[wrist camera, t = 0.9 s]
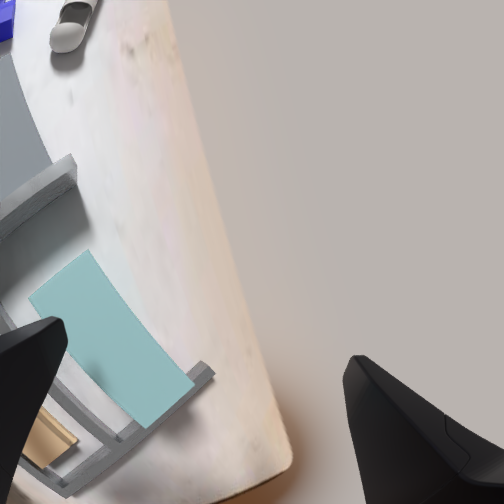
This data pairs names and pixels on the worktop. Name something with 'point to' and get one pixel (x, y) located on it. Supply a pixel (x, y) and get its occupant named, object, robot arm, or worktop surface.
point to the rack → (115, 445)
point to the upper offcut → (45, 442)
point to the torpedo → (71, 25)
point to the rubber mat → (17, 134)
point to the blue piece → (6, 19)
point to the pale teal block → (111, 341)
